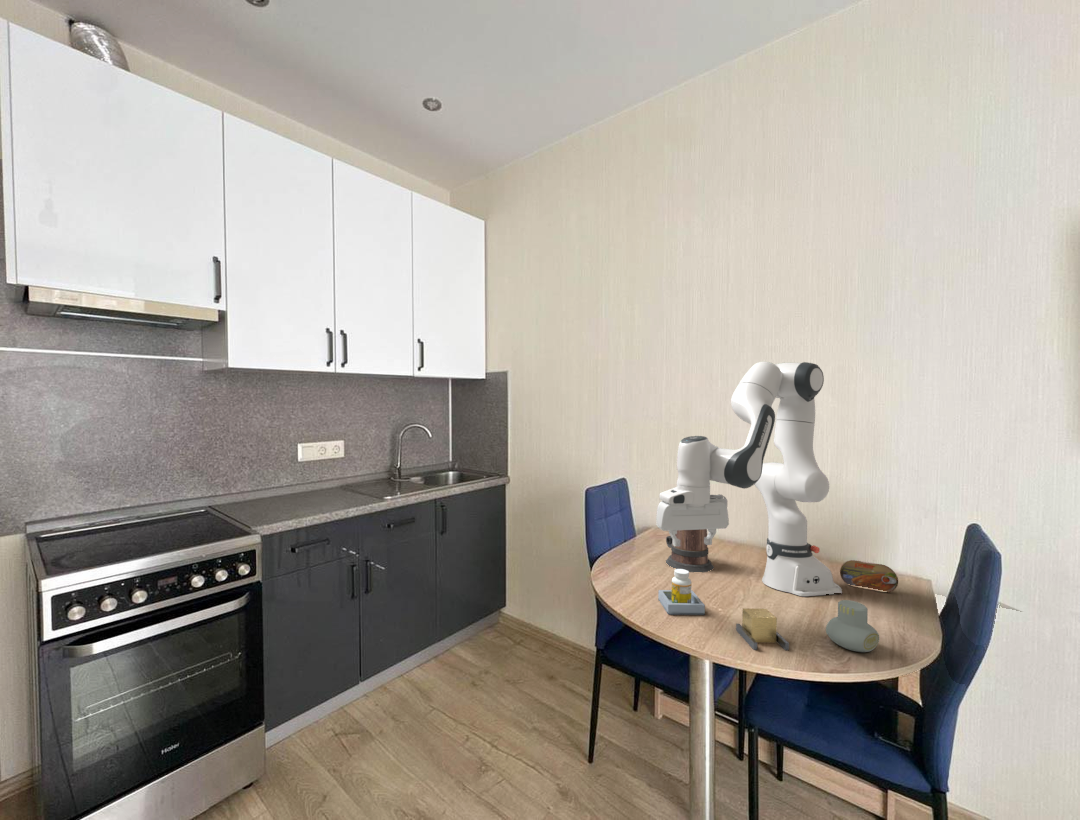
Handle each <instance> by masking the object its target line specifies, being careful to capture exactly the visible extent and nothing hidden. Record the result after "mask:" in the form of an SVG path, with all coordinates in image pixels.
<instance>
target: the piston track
mask: <svg viewBox="0 0 1080 820" xmlns="http://www.w3.org/2000/svg"><path fill="white" fill-rule="evenodd" d="M735 625H736V626H735V627H736V628H735V631H736V632H737V633H738V634H739V635H740V637H741V638H742V639H743V640H744V641H745V642H746V643H747V644H748V645H749V647H750V648H751V649H752V650H753V651H758V642H756V641H755V640H754V639H753V638H752V637H751V635H750V634H749V633H748V632H747V631H746V630H745V629H744V628H743V627H742V624H740V623H736V624H735ZM776 643H777V644H778V645H779V646H780V647H781V648H782V649H783V650H784V651H787V652H788V651H789V649H790V643H789V641H787V640H786V639H785V638H784V637H783V636H782V635H781V634H779V632H778V631H776Z"/></svg>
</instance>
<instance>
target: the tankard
mask: <svg viewBox="0 0 1080 820" xmlns="http://www.w3.org/2000/svg"><path fill="white" fill-rule="evenodd" d="M707 535H708V529H699V530H677V534H675V536H676V537H677V538H678V539H679V540H680V546H673V539H672V537H671V536H670V535H667V536H666V537H665V542H666V545H667V547H668V548H670V550H671V554H670V555H669V556H668V558H666V560H665V561H666V563H667V564H668V565H669V566H668V565H667V564H666V563H665V564H666V565H667V566H668V567H670V566H671V567H673V568H672V569H674V568H676V569H684V570H687V571H689V573H694V572H702V573H708V571H709V572H711V571H713V570H714V569H715V566H714V565H713V563H712V562H711V560H710V559H709V557H708V556H709V547H708V545H706V544H704V537H707ZM671 567H670V568H671ZM713 568H714V569H713ZM712 569H713V570H712ZM710 570H711V571H710Z"/></svg>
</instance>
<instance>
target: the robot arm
mask: <svg viewBox="0 0 1080 820" xmlns="http://www.w3.org/2000/svg"><path fill="white" fill-rule="evenodd" d="M824 376H825V375H824V372H823V370H822V369H821V367H820V366H819V365H818V364H817V363H813V362H805V361H803V362H782V363H772V362H769V361H758V362H756V363H754V364H753V365H751V367H750V368H749V369H748V370H747V371H746V372H745V374H744V375H743V377H742V378H741V379H740V381H739V382H738V384H737V386H736V388H735V390H734V391H733V393H732V395H731V399H730V405H731V409H732V411H733V412H734V415H736V416H737V417H738V418H739V419H740V420H742V421H743V422H746V423H747V424H749V425H750V428H749V430H748V434H747V436H746V440H745V442H744V445H743V446H742V447H740V448H738V449H731V448H725V447H724V448H723V447H719V446H717V445H715V444H713V443H711V441H709V438H708V437H707V436H703V435H693V436H692V435H691V436H686V437H684V438H682V439H681V440H680V442H679V444H678V448H677V456H676V470H677V474H678V475H677V479H676V486H675V487H672V488H670V489H667V490H665V491H662V492H660V493H659V496H658V497H659V500H660V502H659V503H658V505H657V508H656V515H655V524H656V526H657V528H658V529H659V530H661V531H664V532H668V533H669V536H671V537H672V539H673V546H680V540H679V539H678V538H677V537H676V536H675V534H677V530H699V529H707V537H704V544H706V545H707V546H711V545H712V544H713V539H714V537H715V536H716V533H717V530H719V529H721V530H722V529H728V527H729V525H730V523H729V522H730V521H729V511H728V499H727V497H726V496H724V495H723V494H711V482H710V481H712V482H716V483H720V484H726V485H731V486H733V487H737V488H740V489H743V490H745V489H749V488H751V487H752V486H754V487H755V488H756V489H757V490H758V491H759V493H760V495H761V497H762V499H763V501H764V504H765V507H766V513H767V520H768V521H767V522H768V526H767V528H768V532H767V533H768V535H767V538H766V556H767V557H766V563H765V569H764V574H763V576H762V578H761V582H762V583H763V584H764V585H766V586H767V587H769V588H772V589H774V590H777V591H781V592H784V593H785V592H786V593H790V594H793V595H796V596H799V597H814V596H816V597H817V596H826V594H829V595H835V594H834V593H841V594H843V591H842V590H843V588H842V587H841V586H840V585H839V584H838V583H836V582H834V576H833V572H832V571H831V569H830V568H829V567H828V566H827V565H826V564H824V563H823V562H822V561H820V559H818V558H817V557H815V556H814V555H813V553H815V554H819V552H821V550H820V547H818V546H816V545H811V544H810V543H808V519H807V517H806V516H805V514H804V513H803V512H802V511H801V510H800V508H799V506H798V504H797V501H798V502H801V503H819V502H821V501H823V500H824V499H825V498H826V497H827V496H828V494H829V492H830V481H829V479H828V477H827V475H826V474H825V473H824V472H823V471H822V470H821V468H820V467H819V465H818V463H817V460H816V457H815V453H814V437H815V436H814V434H815V433H814V432H815V425H816V424H815V422H816V403H815V401H816V399H815V397H816V396H818V394H819V393H820V391H821V390H822V388H823V385H824V381H825V380H824ZM776 398H777V399H779V403H778V408H777V412H776V414H775V410H774V408H773V407H772V406H773V403H774V402H775V399H776ZM773 429H774V435H773V444H774V446H775V447H776V449H778V450H779V451H780V454H781V456H782V460H783V463H782V462H777V461H772V462H770V461H769V462H764V458H765V455H766V452H767V448H768V445H769V442H770V440H771V437H772V434H773Z"/></svg>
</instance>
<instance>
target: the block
mask: <svg viewBox="0 0 1080 820" xmlns="http://www.w3.org/2000/svg"><path fill="white" fill-rule="evenodd" d="M741 616H742V619H741V620H742V621H741V623H742V624H741V626H742V627H743V628H744V629H745V630H746V631H747V632H748V633H749V634H750V635H751V637H752V638H753V639H754V640H755V641H756V642H757V643H774V644H775V643H777V642H776V632H777V630H778V629H777V626H778V624H777V619H778V618H777V617H776V616H775V615H774V614H773V613H772V612H770V610H769V609H767V608H746V607H745V608H742V615H741Z"/></svg>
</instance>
